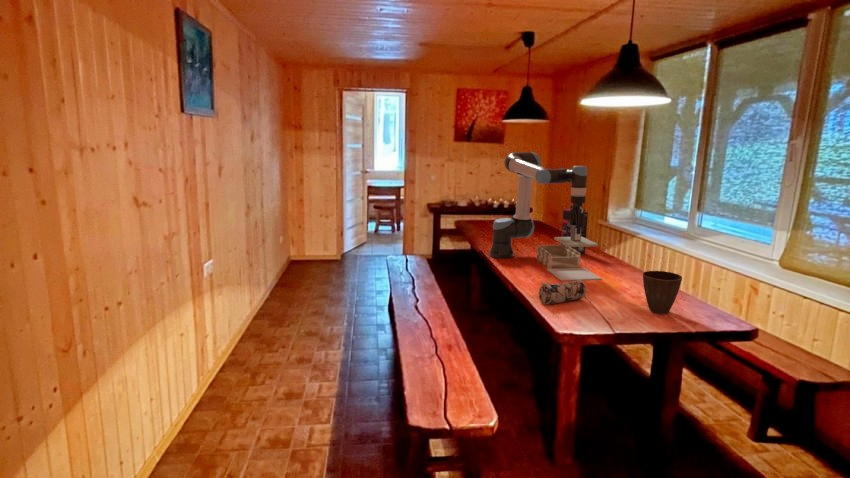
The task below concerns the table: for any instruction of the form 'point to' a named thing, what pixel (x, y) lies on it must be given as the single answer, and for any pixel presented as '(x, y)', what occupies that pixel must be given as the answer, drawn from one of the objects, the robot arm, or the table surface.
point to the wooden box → (558, 256)
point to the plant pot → (661, 290)
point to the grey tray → (573, 274)
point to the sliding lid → (575, 243)
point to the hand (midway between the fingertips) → (575, 238)
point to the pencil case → (562, 292)
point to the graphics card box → (567, 228)
